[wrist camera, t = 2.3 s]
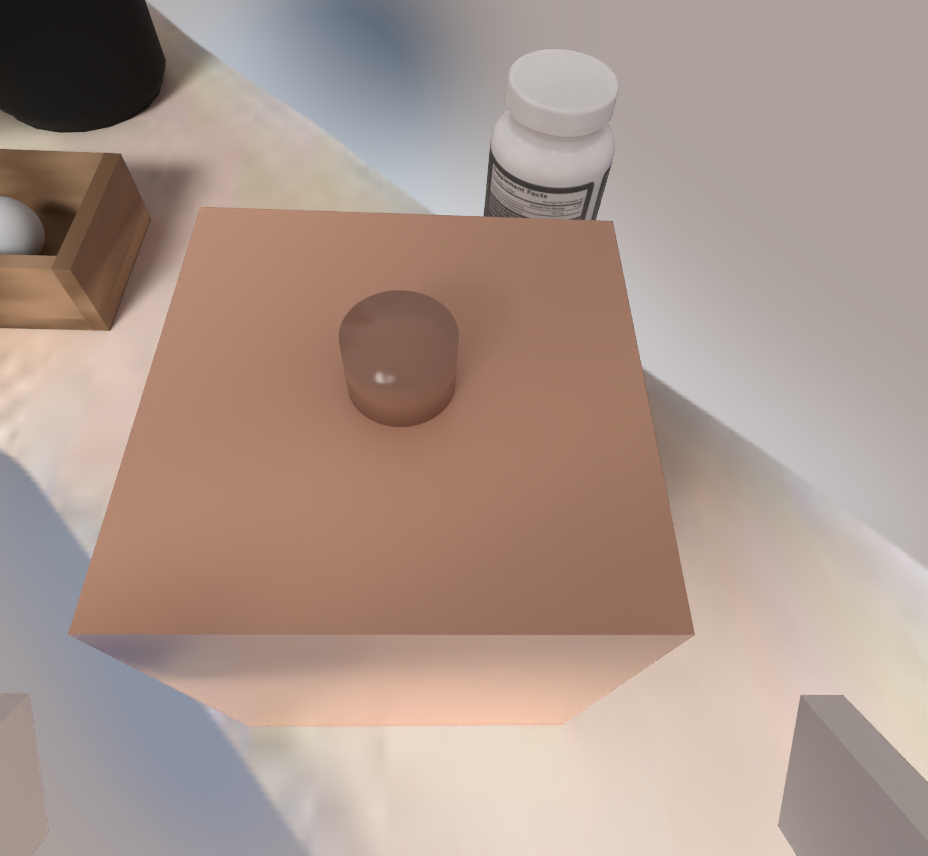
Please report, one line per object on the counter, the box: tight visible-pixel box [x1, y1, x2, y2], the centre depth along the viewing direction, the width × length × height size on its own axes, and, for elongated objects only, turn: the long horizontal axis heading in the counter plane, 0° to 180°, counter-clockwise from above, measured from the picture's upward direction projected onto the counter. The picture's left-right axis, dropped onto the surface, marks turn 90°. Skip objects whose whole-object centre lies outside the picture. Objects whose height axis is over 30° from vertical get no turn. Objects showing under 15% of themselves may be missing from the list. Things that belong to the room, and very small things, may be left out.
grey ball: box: [0, 196, 45, 255], centre depth 30 cm, size 3×3×3 cm
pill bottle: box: [484, 49, 618, 220], centre depth 31 cm, size 6×6×10 cm
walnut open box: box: [0, 149, 151, 331], centre depth 31 cm, size 10×8×4 cm
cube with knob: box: [68, 207, 695, 726], centre depth 19 cm, size 11×11×15 cm
